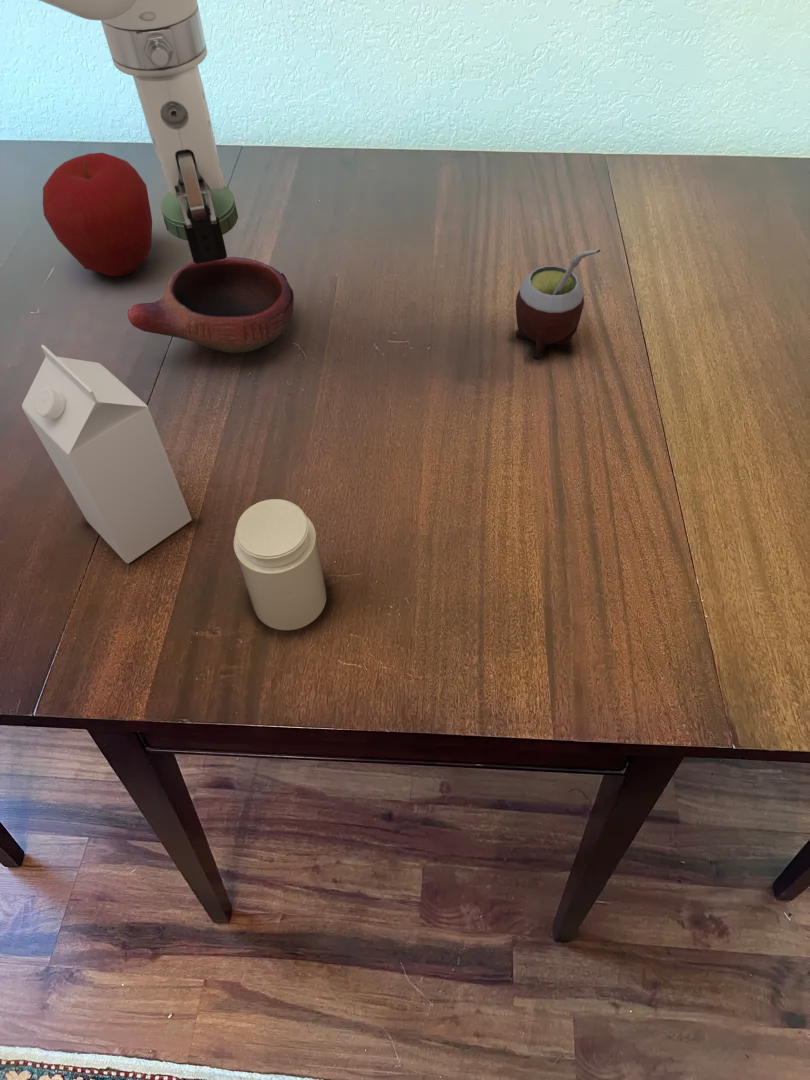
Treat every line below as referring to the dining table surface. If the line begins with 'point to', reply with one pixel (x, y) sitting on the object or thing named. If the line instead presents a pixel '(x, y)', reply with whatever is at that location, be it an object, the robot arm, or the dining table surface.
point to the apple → (100, 213)
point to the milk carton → (106, 453)
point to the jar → (280, 564)
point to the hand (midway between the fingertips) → (205, 235)
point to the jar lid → (220, 201)
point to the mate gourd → (550, 306)
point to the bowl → (220, 305)
